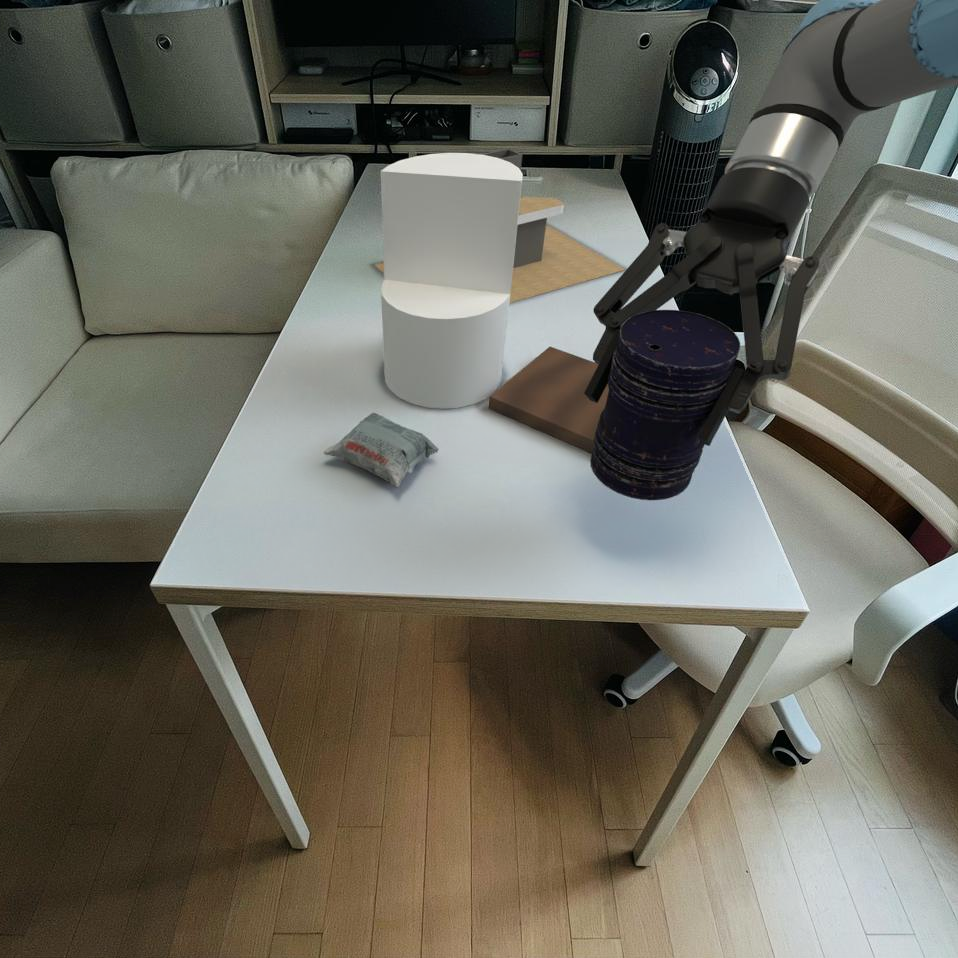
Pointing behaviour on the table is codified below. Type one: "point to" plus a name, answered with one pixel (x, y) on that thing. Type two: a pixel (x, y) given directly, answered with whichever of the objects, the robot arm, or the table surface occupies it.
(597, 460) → the navy ribbed canister
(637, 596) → the table surface
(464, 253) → the cylinder
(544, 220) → the architectural model
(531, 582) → the table surface
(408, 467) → the packaged food
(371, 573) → the table surface
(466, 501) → the table surface
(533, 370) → the board
